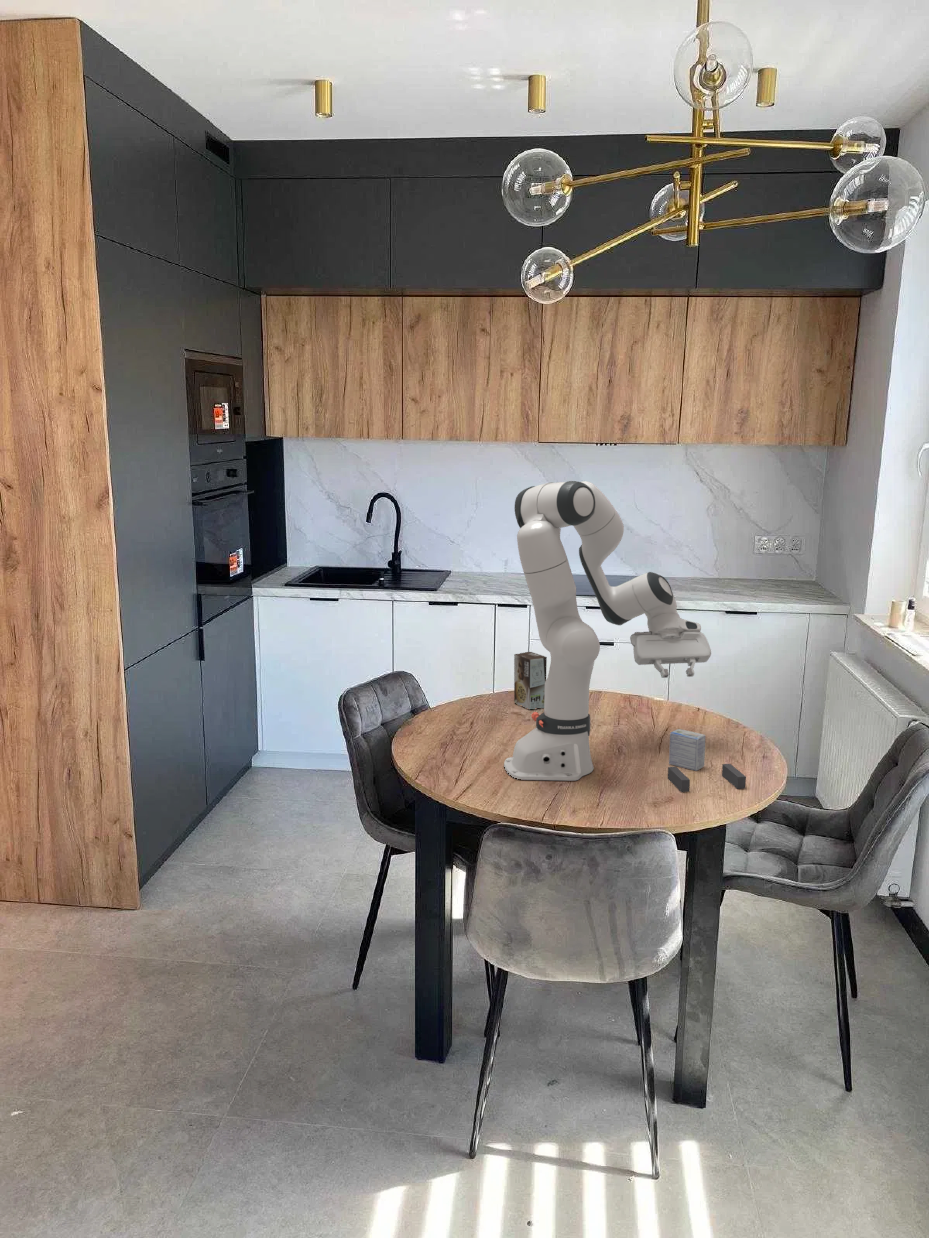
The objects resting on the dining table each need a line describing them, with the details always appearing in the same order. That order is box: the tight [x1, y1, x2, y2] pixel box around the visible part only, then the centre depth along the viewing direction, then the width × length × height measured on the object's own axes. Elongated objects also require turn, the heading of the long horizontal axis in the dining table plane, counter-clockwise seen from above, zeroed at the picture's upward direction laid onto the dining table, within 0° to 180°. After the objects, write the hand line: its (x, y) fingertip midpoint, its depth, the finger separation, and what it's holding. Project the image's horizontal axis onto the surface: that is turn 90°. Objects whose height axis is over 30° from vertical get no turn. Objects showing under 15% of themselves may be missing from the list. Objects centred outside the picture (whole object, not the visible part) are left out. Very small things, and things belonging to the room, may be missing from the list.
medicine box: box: [668, 728, 706, 772], centre depth 238 cm, size 8×4×9 cm, turn 49°
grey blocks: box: [667, 763, 747, 793], centre depth 227 cm, size 16×9×3 cm, turn 98°
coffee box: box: [513, 651, 548, 710], centre depth 290 cm, size 9×6×16 cm
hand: (678, 676), depth 243 cm, fingers open, 5 cm apart
